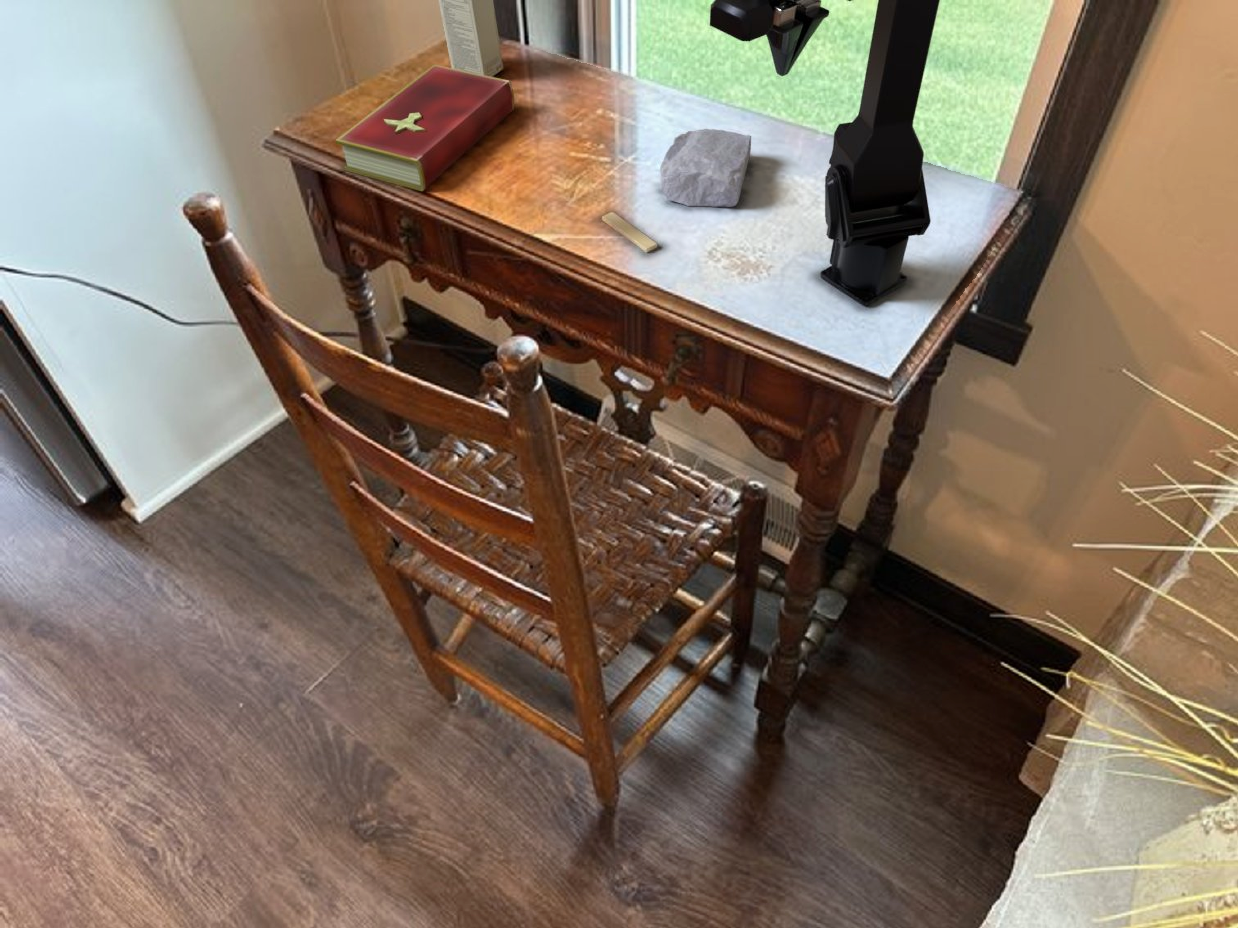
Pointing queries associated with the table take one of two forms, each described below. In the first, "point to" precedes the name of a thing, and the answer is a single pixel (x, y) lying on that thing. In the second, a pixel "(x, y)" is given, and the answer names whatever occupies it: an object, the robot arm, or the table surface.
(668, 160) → the stone block
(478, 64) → the cosmetic box
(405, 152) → the hardcover book
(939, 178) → the table surface
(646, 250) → the maple strip
